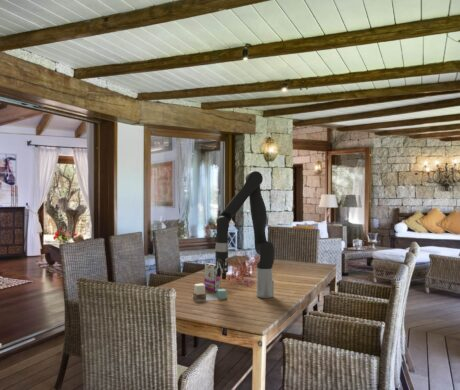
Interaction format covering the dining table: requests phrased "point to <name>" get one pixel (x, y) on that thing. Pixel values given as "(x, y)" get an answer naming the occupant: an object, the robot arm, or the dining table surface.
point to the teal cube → (221, 293)
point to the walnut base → (199, 296)
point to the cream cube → (199, 288)
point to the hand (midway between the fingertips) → (221, 277)
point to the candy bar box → (211, 277)
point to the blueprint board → (209, 297)
